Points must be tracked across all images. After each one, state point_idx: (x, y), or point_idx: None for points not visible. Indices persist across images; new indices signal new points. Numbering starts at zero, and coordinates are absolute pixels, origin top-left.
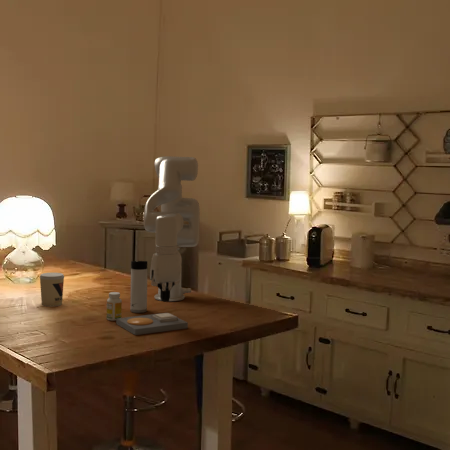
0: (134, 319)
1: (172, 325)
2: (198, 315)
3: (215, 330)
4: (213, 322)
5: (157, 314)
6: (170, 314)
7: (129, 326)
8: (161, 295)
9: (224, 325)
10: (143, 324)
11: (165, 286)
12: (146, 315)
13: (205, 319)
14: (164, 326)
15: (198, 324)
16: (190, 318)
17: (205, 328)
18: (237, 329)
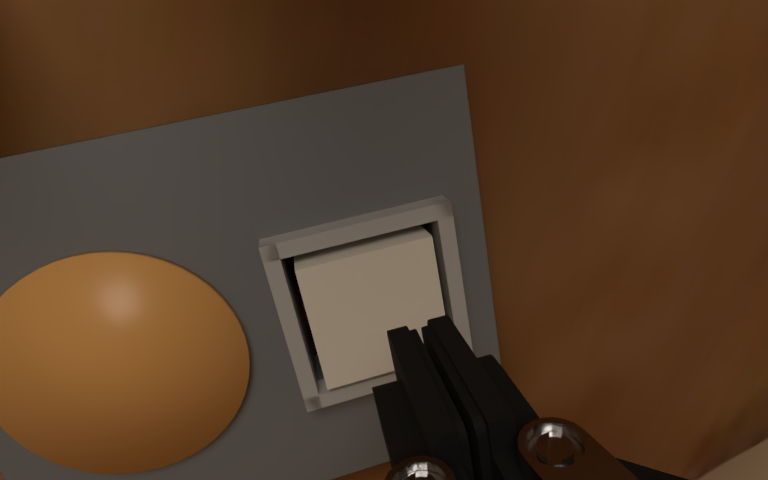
0: (61, 318)
1: (382, 458)
2: (717, 51)
3: (620, 455)
4: (702, 283)
5: (315, 280)
6: (437, 298)
7: (8, 477)
8: (386, 443)
9: (720, 362)
10: (142, 468)
11: (535, 478)
12: (224, 131)
13: (699, 193)
14: (316, 478)
15: (594, 316)
16: (618, 135)
17: (590, 411)
18: (732, 447)
